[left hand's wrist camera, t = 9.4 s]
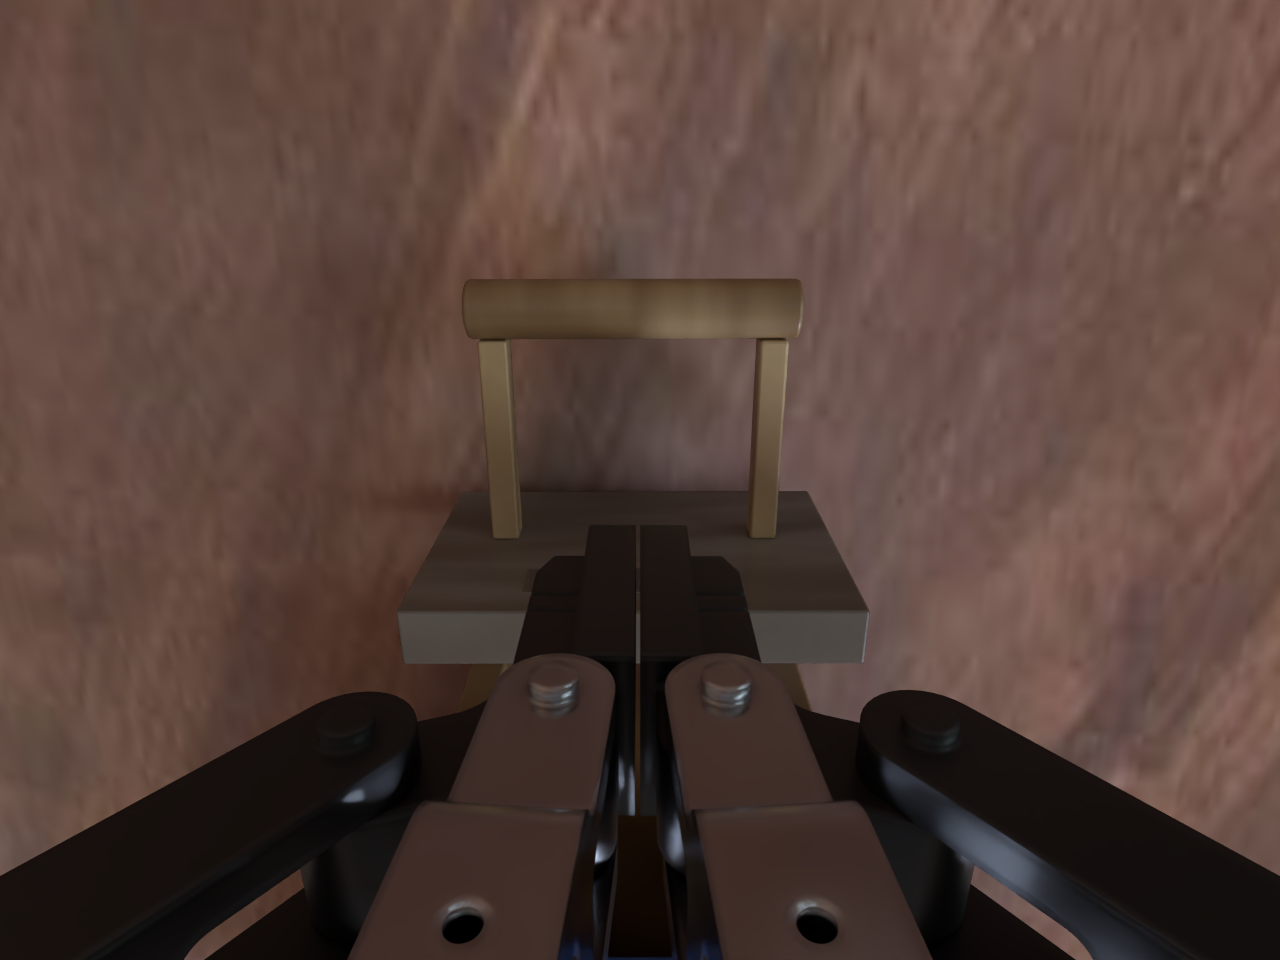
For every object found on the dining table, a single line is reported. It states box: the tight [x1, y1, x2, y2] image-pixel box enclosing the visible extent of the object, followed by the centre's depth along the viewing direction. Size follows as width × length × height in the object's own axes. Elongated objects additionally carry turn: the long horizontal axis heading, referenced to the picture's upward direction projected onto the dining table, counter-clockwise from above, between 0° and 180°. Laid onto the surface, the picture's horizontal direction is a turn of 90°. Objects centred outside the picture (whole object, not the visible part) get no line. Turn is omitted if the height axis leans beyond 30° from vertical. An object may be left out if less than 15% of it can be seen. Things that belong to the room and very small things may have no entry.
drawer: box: [397, 279, 870, 957], centre depth 20 cm, size 23×9×6 cm, turn 0°
